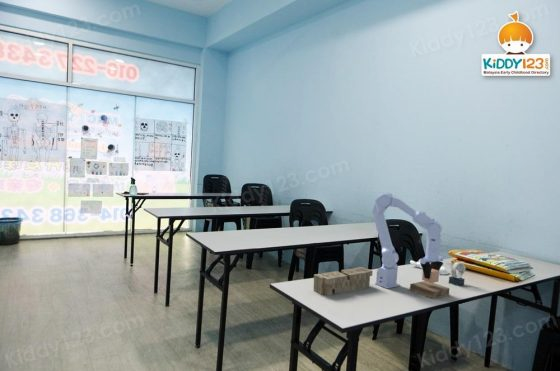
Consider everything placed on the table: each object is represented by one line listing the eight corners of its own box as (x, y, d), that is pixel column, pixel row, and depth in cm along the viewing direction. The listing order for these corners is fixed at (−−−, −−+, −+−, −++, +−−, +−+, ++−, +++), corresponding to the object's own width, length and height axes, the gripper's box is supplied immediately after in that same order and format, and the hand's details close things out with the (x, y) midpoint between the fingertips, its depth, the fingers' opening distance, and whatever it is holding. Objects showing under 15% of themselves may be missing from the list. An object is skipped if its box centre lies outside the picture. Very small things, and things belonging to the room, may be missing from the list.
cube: (431, 283, 172) (432, 272, 172) (422, 279, 176) (422, 269, 176) (438, 281, 175) (439, 270, 174) (428, 278, 179) (429, 267, 178)
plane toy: (440, 276, 204) (441, 265, 204) (409, 266, 221) (410, 256, 220) (452, 274, 210) (453, 263, 209) (420, 264, 226) (421, 255, 226)
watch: (466, 284, 191) (468, 262, 191) (457, 286, 187) (459, 264, 186) (455, 281, 196) (457, 260, 195) (446, 283, 191) (448, 261, 191)
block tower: (324, 298, 163) (372, 287, 179) (325, 279, 162) (373, 269, 179) (312, 292, 170) (360, 282, 186) (313, 274, 169) (361, 265, 185)
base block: (432, 298, 167) (433, 292, 167) (409, 290, 177) (410, 283, 177) (448, 294, 174) (449, 288, 174) (425, 286, 184) (426, 280, 184)
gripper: (431, 251, 167) (428, 282, 168) (450, 248, 175) (447, 278, 176) (417, 248, 173) (414, 277, 174) (436, 245, 181) (434, 273, 182)
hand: (430, 277), depth 175 cm, fingers closed on cube, 5 cm apart
